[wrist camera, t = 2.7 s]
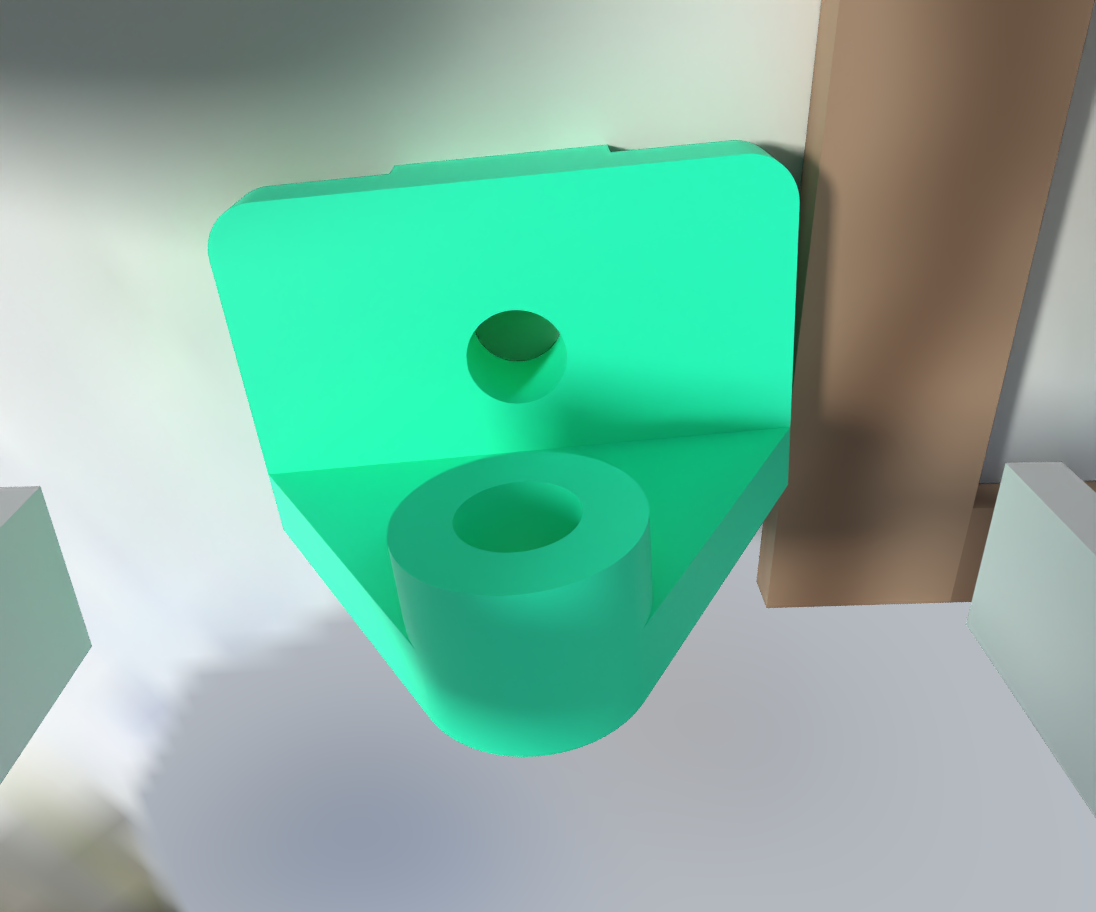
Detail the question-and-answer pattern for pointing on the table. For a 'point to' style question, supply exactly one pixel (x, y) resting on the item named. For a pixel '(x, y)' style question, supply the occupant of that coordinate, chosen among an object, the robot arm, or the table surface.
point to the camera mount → (522, 412)
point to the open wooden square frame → (912, 287)
